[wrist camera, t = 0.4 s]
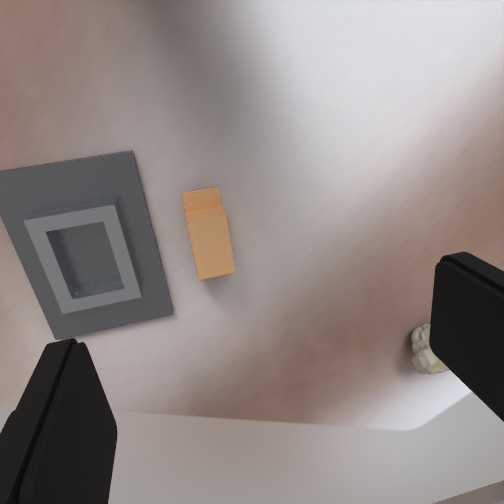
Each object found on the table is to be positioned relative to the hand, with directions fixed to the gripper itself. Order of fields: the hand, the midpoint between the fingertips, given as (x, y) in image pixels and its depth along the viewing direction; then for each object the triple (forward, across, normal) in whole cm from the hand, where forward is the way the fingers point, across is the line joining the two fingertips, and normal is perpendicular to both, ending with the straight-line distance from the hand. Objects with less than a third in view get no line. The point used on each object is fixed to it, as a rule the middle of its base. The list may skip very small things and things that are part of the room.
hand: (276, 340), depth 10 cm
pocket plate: (+34, +13, +9) cm, 37 cm away
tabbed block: (+34, 0, +9) cm, 35 cm away
